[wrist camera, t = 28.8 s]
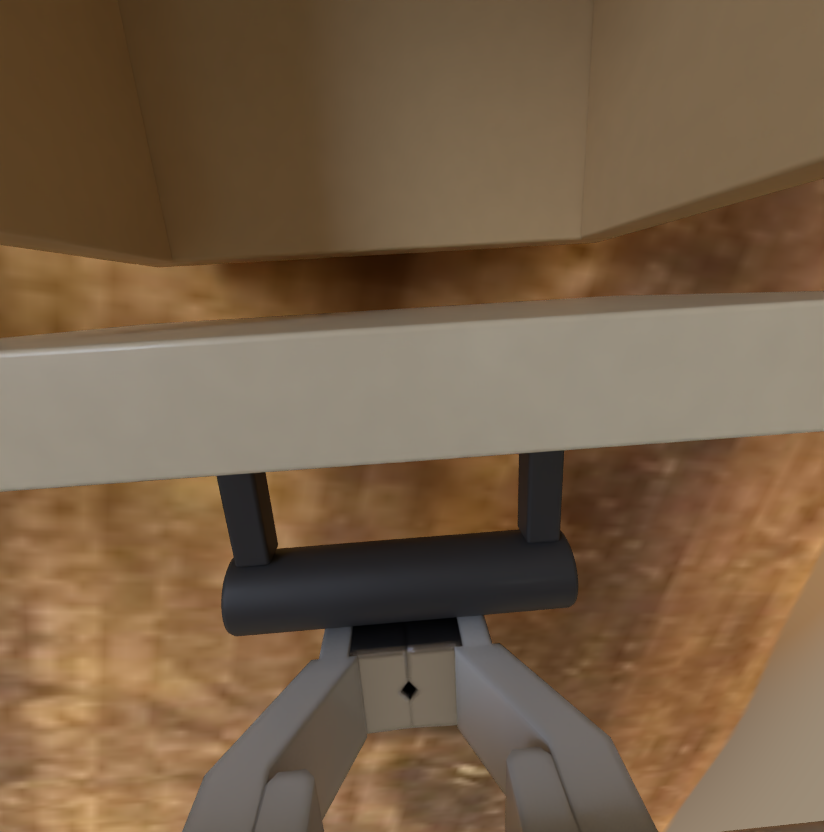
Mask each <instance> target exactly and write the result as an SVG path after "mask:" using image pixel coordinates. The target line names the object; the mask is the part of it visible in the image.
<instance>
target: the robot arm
mask: <svg viewBox="0 0 824 832" xmlns="http://www.w3.org/2000/svg"><path fill="white" fill-rule="evenodd" d="M450 725H457V728H458V729H459V731H460V732H461V733H462V735H463V736H464V738H465V739H466V741H467V742H468V743H469V745H470V746H471V748H472V749H473V750H474V752H475V753H476V755H477V756H478V758H479V759H480V760H481V762H482V763H483V765H484V766H485V767H486V769H487V770H488V772H489V773H490V775H491V776H492V777H493V779H494V780H495V782H496V783H497V784H498V786H499V787H500V789H501V790H502V792H503V793H504V794H505V796H506V809H505V832H658V831H657V829H656V827H655V825H654V823H653V821H652V819H651V817H650V815H649V813H648V811H647V809H646V807H645V805H644V803H643V801H642V799H641V797H640V795H639V793H638V791H637V789H636V787H635V785H634V783H633V781H632V779H631V777H630V775H629V773H628V771H627V769H626V767H625V765H624V763H623V761H622V759H621V757H620V755H619V753H618V751H617V749H616V747H615V745H614V743H613V741H612V739H611V737H609V736H608V735H607V734H606V733H605V732H604V731H602V730H601V729H600V728H599V727H598V726H597V725H595V724H594V723H593V722H592V721H591V720H589V719H588V718H587V717H586V716H585V715H584V714H582V713H581V712H580V711H579V710H578V709H577V708H575V707H574V706H573V705H572V704H571V703H569V702H568V701H567V700H566V699H565V698H564V697H562V696H561V695H560V694H559V693H558V692H557V691H555V690H554V689H553V688H552V687H551V686H549V685H548V684H547V683H546V682H545V681H544V680H542V679H541V678H540V677H539V676H538V675H537V674H535V673H534V672H533V671H532V670H531V669H529V668H528V667H527V666H526V665H525V664H524V663H522V662H521V661H520V660H519V659H518V658H516V657H515V656H514V655H513V654H512V653H511V652H509V651H508V650H507V649H506V648H505V647H504V646H502V645H501V644H500V643H497V644H492V641H491V638H490V634H489V631H488V628H487V624H486V621H485V618H484V615H476V616H464V617H453V618H441V619H430V620H418V621H407V622H395V623H384V624H372V625H361V626H349V627H338V628H326V629H325V632H324V637H323V642H322V646H321V651H320V656H319V659H317V660H311V661H310V662H309V663H308V664H307V665H306V666H305V667H304V668H303V670H302V671H301V672H300V673H299V674H298V675H297V676H296V677H295V678H294V679H293V680H292V681H291V683H290V684H289V685H288V686H287V687H286V688H285V689H284V690H283V691H282V692H281V693H280V694H279V696H278V697H277V698H276V699H275V700H274V701H273V702H272V703H271V704H270V705H269V706H268V707H267V709H266V710H265V711H264V712H263V713H262V714H261V715H260V716H259V717H258V718H257V719H256V720H255V722H254V723H253V724H252V725H251V726H250V727H249V728H248V729H247V730H246V731H245V732H244V733H243V735H242V736H241V737H240V738H239V739H238V740H237V741H236V742H235V743H234V744H233V745H232V746H231V748H230V749H229V750H228V751H227V752H226V753H225V754H224V755H223V756H222V757H221V758H220V759H219V760H218V762H217V763H216V764H215V765H214V766H213V767H212V768H211V769H210V770H209V771H208V772H207V773H206V775H205V776H204V778H203V781H202V783H201V786H200V788H199V791H198V793H197V796H196V798H195V801H194V803H193V806H192V808H191V811H190V813H189V816H188V818H187V821H186V823H185V826H184V828H183V831H182V832H324V829H323V823H322V820H323V818H324V816H325V814H326V813H327V811H328V809H329V807H330V805H331V803H332V801H333V800H334V798H335V796H336V794H337V792H338V790H339V788H340V787H341V785H342V783H343V781H344V779H345V777H346V775H347V774H348V772H349V770H350V768H351V766H352V764H353V762H354V761H355V759H356V757H357V755H358V753H359V751H360V749H361V748H362V746H363V744H364V742H365V740H366V738H367V734H368V733H376V732H384V731H392V730H399V729H407V728H419V727H434V726H450ZM724 832H824V821H818V822H808V823H799V824H789V825H780V826H771V827H761V828H752V829H743V830H733V831H724Z"/></svg>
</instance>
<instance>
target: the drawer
mask: <svg viewBox="0 0 824 832" xmlns="http://www.w3.org/2000/svg"><path fill="white" fill-rule="evenodd" d="M823 178H824V0H0V245H6V246H13V247H20V248H26V249H33V250H40V251H47V252H54V253H61V254H68V255H75V256H82V257H89V258H96V259H103V260H110V261H117V262H124V263H131V264H140V265H146V266H153V267H171V266H189V265H207V264H225V263H243V262H260V261H278V260H296V259H314V258H332V257H350V256H367V255H385V254H403V253H421V252H439V251H456V250H474V249H492V248H510V247H528V246H546V245H563V244H581V243H597V242H600V241H604V240H607V239H611V238H613V237H618V236H622V235H625V234H629V233H632V232H636V231H639V230H643V229H647V228H650V227H654V226H657V225H661V224H664V223H668V222H671V221H675V220H678V219H682V218H685V217H689V216H692V215H696V214H699V213H703V212H707V211H710V210H714V209H717V208H721V207H724V206H728V205H731V204H735V203H738V202H742V201H745V200H749V199H752V198H756V197H760V196H763V195H767V194H770V193H774V192H777V191H781V190H784V189H788V188H791V187H795V186H798V185H802V184H805V183H809V182H813V181H816V180H820V179H823ZM819 431H824V291H804V292H760V293H716V294H672V295H628V296H602V297H585V298H569V299H552V300H536V301H519V302H503V303H486V304H470V305H453V306H437V307H420V308H404V309H388V310H371V311H355V312H338V313H322V314H305V315H289V316H272V317H256V318H239V319H223V320H206V321H190V322H173V323H157V324H144V325H133V326H123V327H112V328H102V329H91V330H81V331H71V332H60V333H50V334H39V335H29V336H18V337H8V338H0V492H3V491H17V490H30V489H44V488H57V487H71V486H85V485H98V484H112V483H125V482H139V481H153V480H166V479H180V478H193V477H207V476H217V481H218V485H219V490H220V495H221V499H222V504H223V509H224V513H225V518H226V523H227V528H228V532H229V537H230V542H231V546H232V551H233V556H234V558H233V559H232V560H231V562H230V564H229V566H228V569H227V571H226V575H225V578H224V583H223V589H222V600H221V608H222V618H223V622H224V626H225V628H226V630H227V631H228V633H230V634H231V635H234V636H246V635H257V634H269V633H280V632H292V631H303V630H315V629H326V628H338V627H349V626H361V625H372V624H384V623H395V622H407V621H418V620H430V619H441V618H453V617H464V616H476V615H487V614H499V613H510V612H522V611H533V610H545V609H556V608H568V607H570V606H572V605H573V604H574V603H575V602H576V599H577V595H578V575H577V568H576V563H575V559H574V556H573V553H572V550H571V547H570V545H569V543H568V540H567V539H566V537H565V535H564V534H563V533H562V531H560V520H561V501H562V482H563V463H564V450H574V449H588V448H601V447H615V446H629V445H642V444H656V443H669V442H683V441H697V440H710V439H724V438H737V437H751V436H765V435H778V434H792V433H805V432H819ZM506 454H519V485H518V527H519V530H506V531H494V532H481V533H469V534H456V535H444V536H431V537H419V538H406V539H394V540H381V541H369V542H356V543H344V544H331V545H319V546H306V547H294V548H281V549H277V546H278V542H277V536H276V530H275V524H274V519H273V513H272V507H271V502H270V496H269V490H268V484H267V479H266V473H265V472H275V471H289V470H302V469H316V468H329V467H343V466H357V465H370V464H384V463H397V462H411V461H425V460H438V459H452V458H465V457H479V456H493V455H506Z"/></svg>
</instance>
